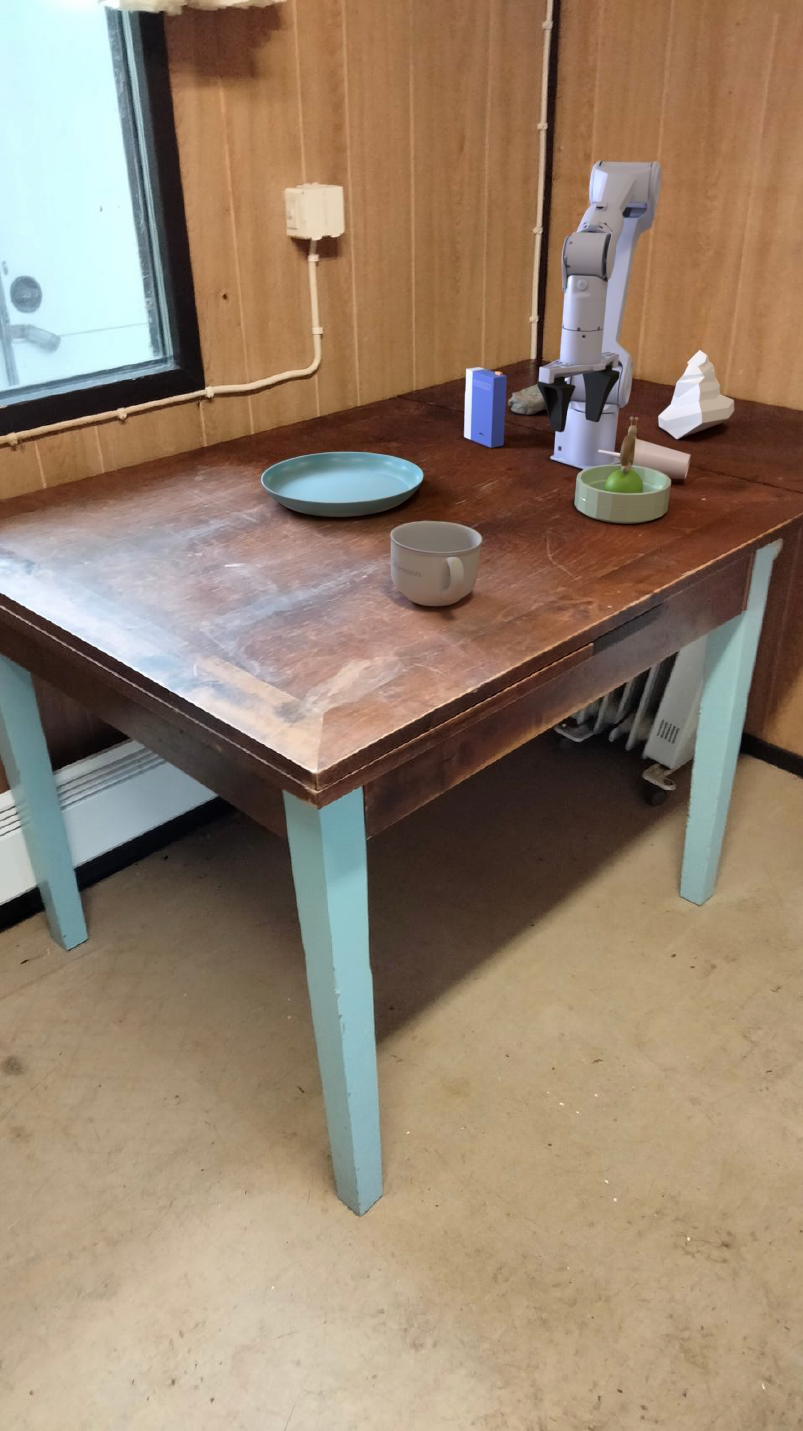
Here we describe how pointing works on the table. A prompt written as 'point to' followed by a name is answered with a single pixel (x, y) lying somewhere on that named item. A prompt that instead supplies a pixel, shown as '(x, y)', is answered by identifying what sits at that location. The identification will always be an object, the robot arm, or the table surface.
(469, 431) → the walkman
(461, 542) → the teacup
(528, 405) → the elongated rock
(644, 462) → the smoothie
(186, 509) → the table surface
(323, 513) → the teal plate
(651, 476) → the bowl
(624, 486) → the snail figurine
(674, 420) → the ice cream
